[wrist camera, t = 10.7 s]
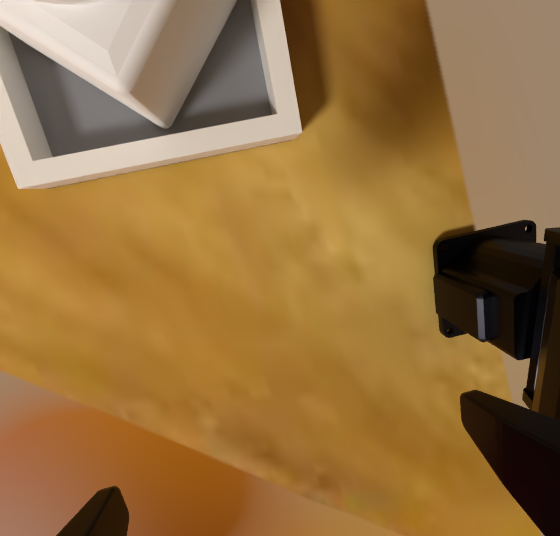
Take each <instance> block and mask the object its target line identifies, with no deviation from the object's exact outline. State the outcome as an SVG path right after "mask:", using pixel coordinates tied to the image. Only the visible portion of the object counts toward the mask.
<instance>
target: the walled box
mask: <svg viewBox="0 0 560 536" xmlns="http://www.w3.org/2000/svg"><path fill="white" fill-rule="evenodd" d="M301 133H302V127H301V122H300V116H299V110H298V104H297V98H296V92H295V86H294V81H293V75H292V69H291V63H290V57H289V51H288V45H287V39H286V34H285V28H284V22H283V16H282V10H281V4H280V0H237V2H236V4H235V6H234V7H233V9H232V11H231V13H230V15H229V17H228V19H227V21H226V23H225V25H224V27H223V29H222V30H221V32H220V34H219V36H218V38H217V40H216V42H215V44H214V46H213V48H212V50H211V51H210V53H209V55H208V57H207V59H206V61H205V63H204V65H203V67H202V69H201V71H200V72H199V74H198V76H197V78H196V80H195V82H194V84H193V86H192V88H191V90H190V92H189V93H188V95H187V97H186V99H185V101H184V103H183V105H182V107H181V109H180V111H179V113H178V114H177V116H176V118H175V120H174V122H173V124H172V126H171V127H170V128H167V129H164V128H161V127H160V126H158V125H156V124H155V123H153V122H152V121H150V120H148V119H147V118H145V117H144V116H142V115H140V114H139V113H137V112H136V111H134V110H132V109H131V108H129V107H128V106H126V105H124V104H123V103H121V102H119V101H118V100H116V99H115V98H113V97H111V96H110V95H108V94H107V93H105V92H103V91H102V90H100V89H99V88H97V87H95V86H94V85H92V84H91V83H89V82H87V81H86V80H84V79H82V78H81V77H79V76H78V75H76V74H74V73H73V72H71V71H70V70H68V69H66V68H65V67H63V66H62V65H60V64H58V63H57V62H55V61H54V60H52V59H50V58H49V57H47V56H45V55H44V54H42V53H41V52H39V51H37V50H36V49H34V48H33V47H31V46H29V45H28V44H26V43H25V42H23V41H22V40H20V39H19V38H18V37H16V36H15V35H13V34H12V33H10V32H9V31H7V30H6V29H4V28H3V27H1V26H0V144H1V146H2V149H3V151H4V154H5V157H6V159H7V162H8V164H9V167H10V169H11V172H12V174H13V177H14V179H15V182H16V185H17V187H18V189H47V188H54V187H59V186H64V185H69V184H74V183H79V182H84V181H89V180H94V179H99V178H104V177H109V176H114V175H119V174H124V173H129V172H134V171H139V170H144V169H149V168H154V167H159V166H164V165H169V164H174V163H179V162H184V161H189V160H194V159H199V158H204V157H209V156H214V155H219V154H224V153H229V152H234V151H239V150H244V149H249V148H254V147H259V146H264V145H269V144H274V143H279V142H284V141H290V140H294V139H295V138H296V137H298V136H299V135H300V134H301Z"/></svg>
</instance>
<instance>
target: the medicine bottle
mask: <svg viewBox="0 0 560 536" xmlns="http://www.w3.org/2000/svg"><path fill="white" fill-rule="evenodd" d="M236 2H237V0H0V26H1V27H3V28H4V29H6V30H7V31H9V32H10V33H12V34H13V35H15V36H16V37H18V38H19V39H20V40H22V41H23V42H25V43H26V44H28V45H29V46H31V47H33V48H34V49H36V50H37V51H39V52H41V53H42V54H44V55H45V56H47V57H49V58H50V59H52V60H54V61H55V62H57V63H58V64H60V65H62V66H63V67H65V68H66V69H68V70H70V71H71V72H73V73H74V74H76V75H78V76H79V77H81V78H82V79H84V80H86V81H87V82H89V83H91V84H92V85H94V86H95V87H97V88H99V89H100V90H102V91H103V92H105V93H107V94H108V95H110V96H111V97H113V98H115V99H116V100H118V101H119V102H121V103H123V104H124V105H126V106H128V107H129V108H131V109H132V110H134V111H136V112H137V113H139V114H140V115H142V116H144V117H145V118H147V119H148V120H150V121H152V122H153V123H155V124H156V125H158V126H160V127H161V128H164V129H167V128H170V127H171V126H172V124H173V122H174V120H175V118H176V116H177V114H178V113H179V111H180V109H181V107H182V105H183V103H184V101H185V99H186V97H187V95H188V93H189V92H190V90H191V88H192V86H193V84H194V82H195V80H196V78H197V76H198V74H199V72H200V71H201V69H202V67H203V65H204V63H205V61H206V59H207V57H208V55H209V53H210V51H211V50H212V48H213V46H214V44H215V42H216V40H217V38H218V36H219V34H220V32H221V30H222V29H223V27H224V25H225V23H226V21H227V19H228V17H229V15H230V13H231V11H232V9H233V7H234V6H235V4H236Z"/></svg>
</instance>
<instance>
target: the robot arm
mask: <svg viewBox="0 0 560 536" xmlns="http://www.w3.org/2000/svg"><path fill="white" fill-rule="evenodd" d="M526 226H527V230H526V231H525V227H526ZM544 241H546V244H541V243H536V224H535V223H534V222H533V221H530V220H521V221H517V222H513V223H508V224H504V225H500V226H496V227H491V228H486V229H482V230H478V231H473V232H469V233H464V234H460V235H456V236H451V237H447V238H443V239H439V240H437V241H436V242H435V243H434V245H433V257H434V269H435V275H434V277H433V281H434V293H435V305H436V313H437V314H438V317H439V329H440V332H441V334H443V335H444V336H445V337H448V338H451V337H455V336H459V335H463V334H467V333H468V334H470V335H471V336H473V337H474V338H476V339H477V340H479V341H481V342H489V343H491V344H492V345H494V346H496V347H497V348H499V349H500V350H502V351H504V352H505V353H507V354H509V355H510V356H512V357H513V358H515V359H517V360H523V359H526V358H530V365H529V372H528V379H527V386H526V388H524V389H523V397H522V399H523V401H524V402H525V403H526V405H527V406H528V408H529V409H527V408H524V407H522V406H519V405H516V404H513V403H511V402H508V401H505V400H503V399H500V398H497V397H494V396H492V395H489V394H486V393H484V392H481V391H478V390H472V391H469V392H465V393H462V394H461V396H460V406H461V419H462V423H463V426H464V428H465V429H466V431H467V432H468V434H469V435H470V437H471V438H472V440H473V441H474V443H475V444H476V446H477V447H478V449H479V450H480V451H481V453H482V454H483V456H484V457H485V459H486V460H487V462H488V463H489V465H490V466H491V468H492V469H493V471H494V472H495V474H496V475H497V476H498V478H499V479H500V481H501V482H502V483H503V485H504V486H505V487H506V489H507V490H508V491H509V493H510V494H511V495H512V496H513V498H514V499H515V500H516V501H517V502H518V504H519V505H520V506H521V507H522V509H523V510H524V511H525V512H526V513H527V515H528V516H529V517H530V518H531V520H532V521H533V522H534V523H535V524H536V526H537V527H538V528H539V529H540V531H541V532H542V533H543V534H544V535H545V536H560V227H559V228H547V229H545V235H544ZM443 244H444V249H443V250H442V251H441V250H440V248H441V246H442V245H443ZM449 327H450V330H449V331H447V329H448V328H449ZM128 523H129V512H128V508H127V506H126V504H125V501H124V499H123V496H122V494H121V491H120V489H119V488H118V487H117V486H112V487H108V488H104V489H101V490H99V491H98V492H97V493H96V494H95V495H94V496H93V497H92V498H91V499H90V500H89V501H88V502H87V503H86V504H85V506H84V507H83V508H82V509H81V510H80V511H79V512H78V513H77V514H76V515H75V516H74V517H73V518H72V519H71V520H70V521H69V522H68V524H67V525H66V526H65V527H64V528H63V529H62V530H61V531H60V532H59V533H58V534H57V535H56V536H127V530H128Z"/></svg>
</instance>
